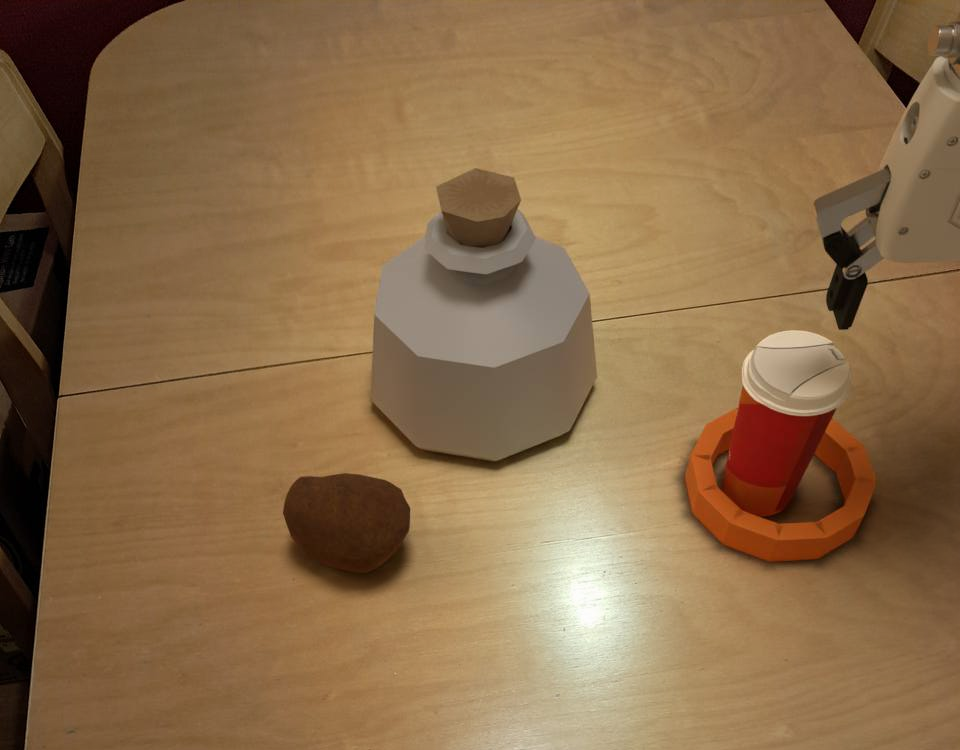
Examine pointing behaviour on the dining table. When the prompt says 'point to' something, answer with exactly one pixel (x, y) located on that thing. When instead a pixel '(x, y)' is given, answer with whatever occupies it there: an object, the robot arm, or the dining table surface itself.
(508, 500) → the dining table surface
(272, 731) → the dining table surface
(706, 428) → the ring
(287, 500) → the potato
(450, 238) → the bottle
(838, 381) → the paper cup
